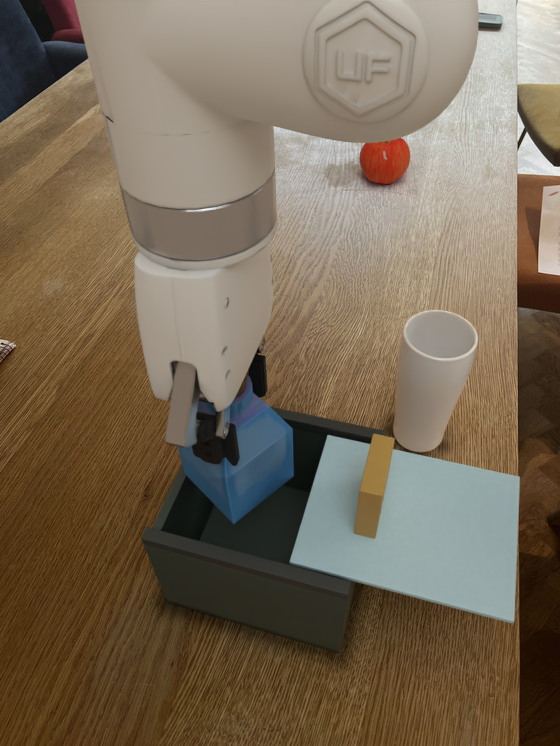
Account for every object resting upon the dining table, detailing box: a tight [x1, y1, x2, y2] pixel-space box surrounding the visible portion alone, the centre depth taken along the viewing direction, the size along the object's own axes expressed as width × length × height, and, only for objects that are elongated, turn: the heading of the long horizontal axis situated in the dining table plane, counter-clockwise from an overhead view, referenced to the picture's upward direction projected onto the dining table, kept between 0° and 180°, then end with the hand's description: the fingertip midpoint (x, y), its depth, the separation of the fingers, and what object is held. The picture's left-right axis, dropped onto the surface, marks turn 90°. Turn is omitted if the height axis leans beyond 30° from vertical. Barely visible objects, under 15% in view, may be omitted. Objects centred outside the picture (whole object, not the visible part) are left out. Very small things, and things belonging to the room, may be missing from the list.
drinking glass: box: [392, 309, 479, 453], centre depth 60 cm, size 7×7×15 cm
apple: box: [358, 137, 411, 185], centre depth 98 cm, size 8×8×8 cm
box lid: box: [290, 434, 521, 624], centre depth 44 cm, size 16×12×6 cm
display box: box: [140, 405, 385, 654], centre depth 53 cm, size 16×15×12 cm
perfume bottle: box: [177, 371, 294, 524], centre depth 45 cm, size 6×6×12 cm
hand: (232, 421), depth 44 cm, fingers closed on perfume bottle, 5 cm apart
